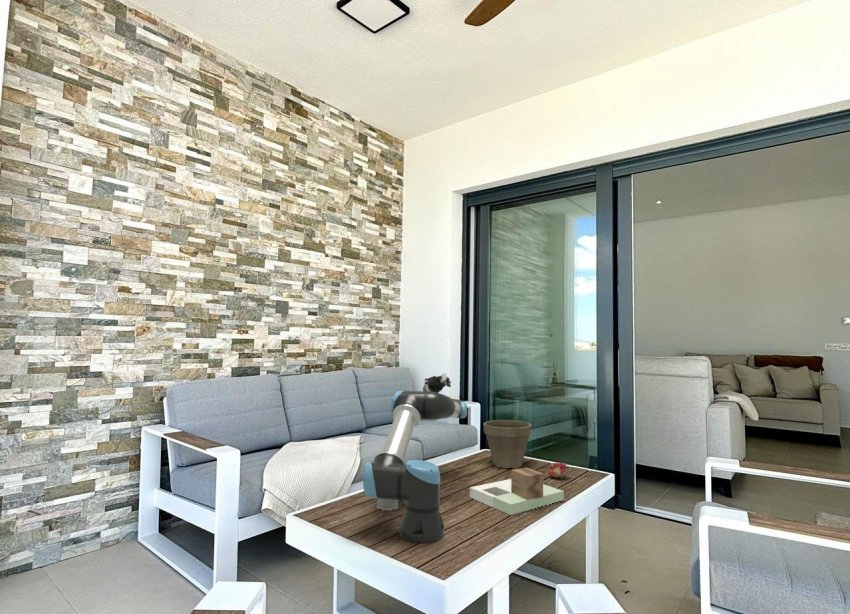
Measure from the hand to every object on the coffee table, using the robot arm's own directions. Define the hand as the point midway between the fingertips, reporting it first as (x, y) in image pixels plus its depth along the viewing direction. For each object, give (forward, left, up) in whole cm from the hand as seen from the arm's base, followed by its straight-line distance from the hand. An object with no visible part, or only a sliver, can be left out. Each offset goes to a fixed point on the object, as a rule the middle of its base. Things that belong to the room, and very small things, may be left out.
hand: (444, 376), depth 214 cm
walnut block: (+17, -33, -45) cm, 58 cm away
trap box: (+19, -26, -49) cm, 58 cm away
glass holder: (-28, -6, -49) cm, 57 cm away
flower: (+58, -14, -49) cm, 77 cm away
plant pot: (+54, +16, -49) cm, 74 cm away
